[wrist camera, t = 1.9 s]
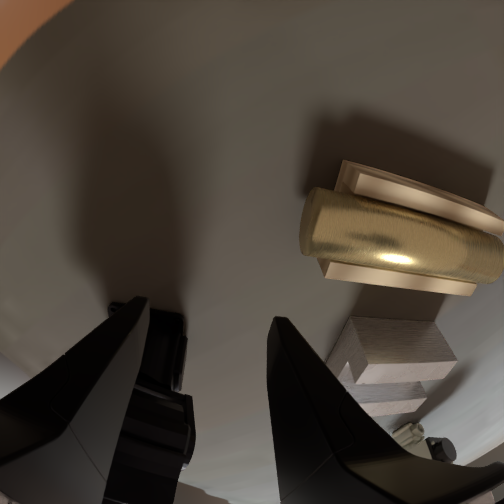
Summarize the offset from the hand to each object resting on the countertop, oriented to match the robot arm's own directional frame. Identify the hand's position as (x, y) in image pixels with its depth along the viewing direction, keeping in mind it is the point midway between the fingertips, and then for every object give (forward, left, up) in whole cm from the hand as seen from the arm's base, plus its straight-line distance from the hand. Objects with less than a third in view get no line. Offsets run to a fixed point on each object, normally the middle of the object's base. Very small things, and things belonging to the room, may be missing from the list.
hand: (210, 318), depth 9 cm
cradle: (+17, -13, -12) cm, 25 cm away
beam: (+14, 0, -12) cm, 18 cm away
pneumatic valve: (+33, -32, -12) cm, 48 cm away
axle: (+13, 0, -11) cm, 17 cm away
